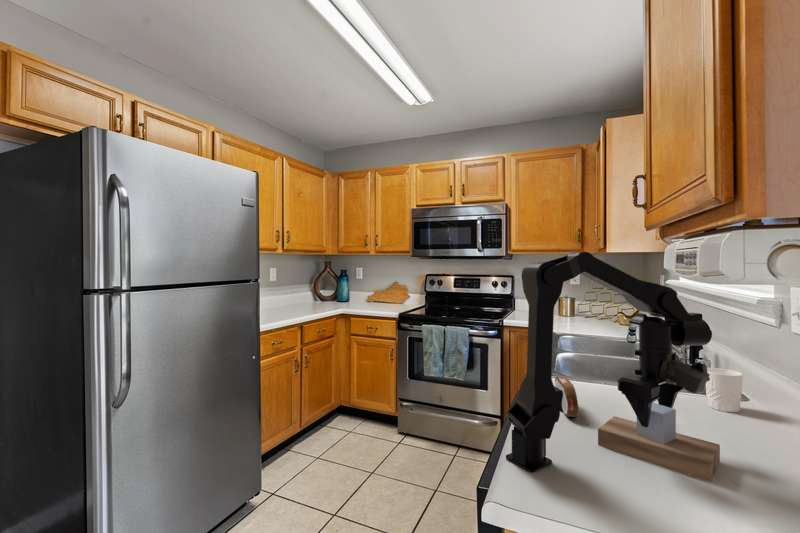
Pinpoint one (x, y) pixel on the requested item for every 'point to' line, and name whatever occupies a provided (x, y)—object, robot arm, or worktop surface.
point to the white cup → (724, 389)
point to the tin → (567, 396)
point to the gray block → (659, 424)
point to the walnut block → (662, 449)
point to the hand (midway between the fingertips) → (655, 421)
